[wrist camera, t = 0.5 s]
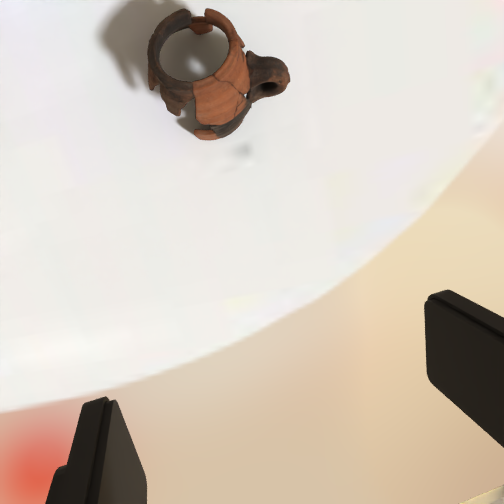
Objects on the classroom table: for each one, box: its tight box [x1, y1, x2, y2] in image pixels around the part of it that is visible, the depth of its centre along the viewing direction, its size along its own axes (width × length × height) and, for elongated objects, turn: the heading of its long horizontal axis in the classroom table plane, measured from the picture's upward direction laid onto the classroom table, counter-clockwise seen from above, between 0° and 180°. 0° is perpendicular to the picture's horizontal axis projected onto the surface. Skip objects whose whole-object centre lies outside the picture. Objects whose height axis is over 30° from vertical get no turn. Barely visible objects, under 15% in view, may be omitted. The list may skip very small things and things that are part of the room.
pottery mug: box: [147, 8, 290, 140], centre depth 33 cm, size 12×10×8 cm
